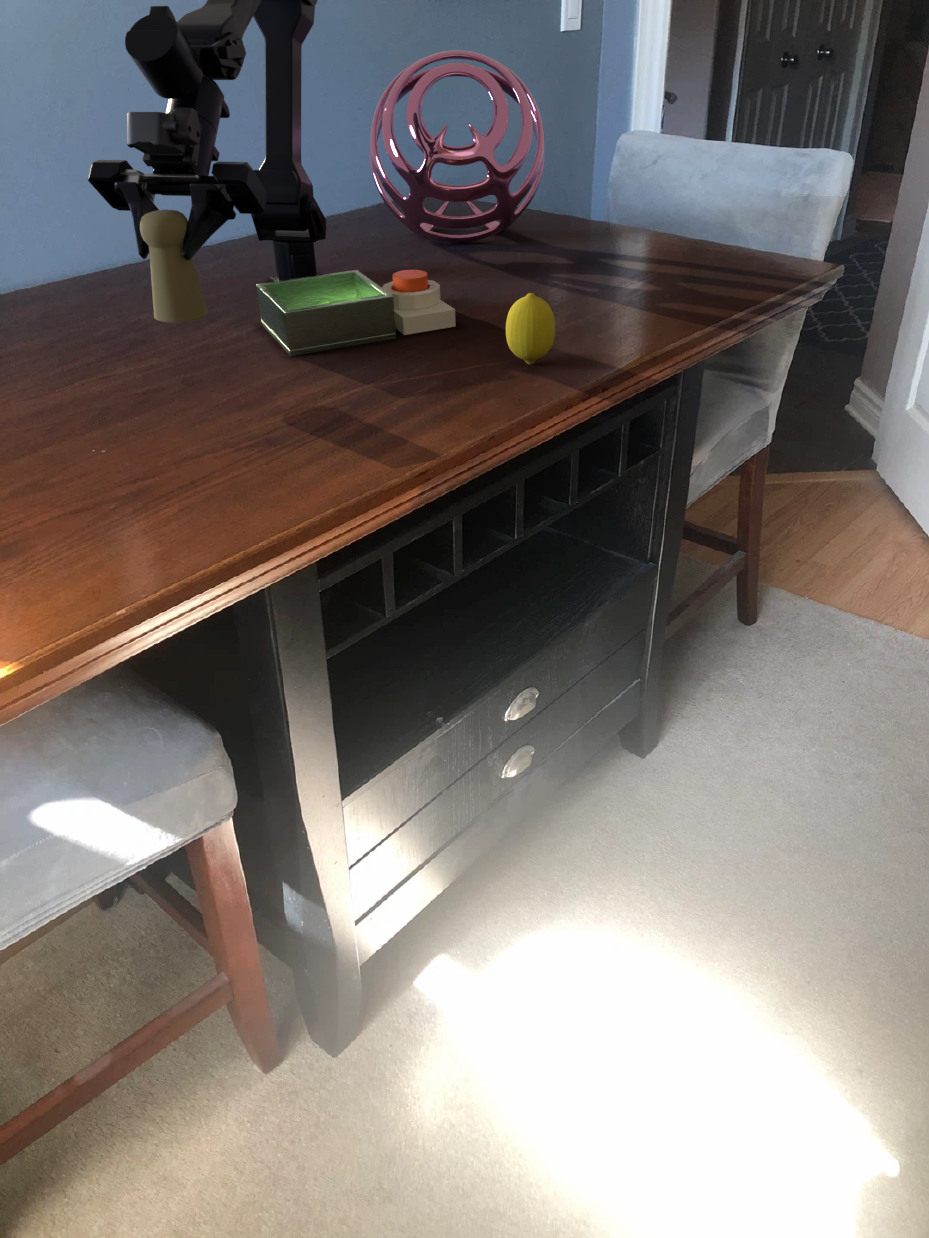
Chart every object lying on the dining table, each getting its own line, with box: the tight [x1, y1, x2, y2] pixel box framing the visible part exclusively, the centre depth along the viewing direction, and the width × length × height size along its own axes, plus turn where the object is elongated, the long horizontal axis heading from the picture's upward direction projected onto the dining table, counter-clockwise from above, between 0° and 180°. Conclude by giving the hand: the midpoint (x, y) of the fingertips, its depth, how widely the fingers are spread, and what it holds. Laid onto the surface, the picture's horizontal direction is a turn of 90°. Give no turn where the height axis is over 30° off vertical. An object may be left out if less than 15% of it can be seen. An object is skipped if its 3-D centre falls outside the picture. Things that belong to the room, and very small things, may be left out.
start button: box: [392, 269, 429, 292], centre depth 125 cm, size 4×4×2 cm
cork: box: [140, 209, 209, 323], centre depth 109 cm, size 6×6×11 cm
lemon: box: [505, 292, 556, 365], centre depth 110 cm, size 6×6×8 cm
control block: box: [381, 279, 456, 336], centre depth 127 cm, size 12×7×4 cm, turn 24°
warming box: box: [255, 269, 397, 357], centre depth 123 cm, size 13×13×5 cm
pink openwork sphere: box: [369, 49, 546, 244], centre depth 157 cm, size 28×28×27 cm
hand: (163, 257), depth 107 cm, fingers closed on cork, 5 cm apart
